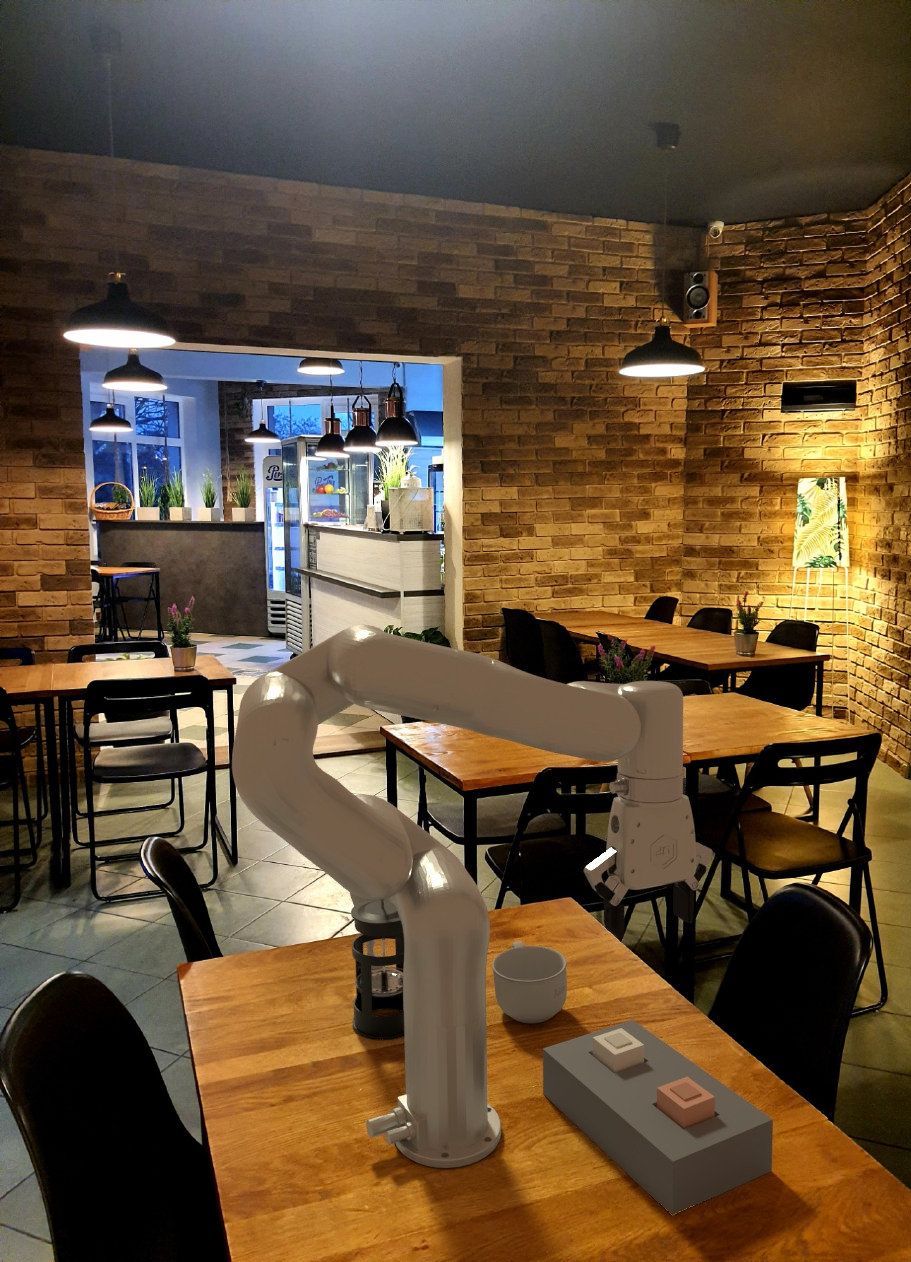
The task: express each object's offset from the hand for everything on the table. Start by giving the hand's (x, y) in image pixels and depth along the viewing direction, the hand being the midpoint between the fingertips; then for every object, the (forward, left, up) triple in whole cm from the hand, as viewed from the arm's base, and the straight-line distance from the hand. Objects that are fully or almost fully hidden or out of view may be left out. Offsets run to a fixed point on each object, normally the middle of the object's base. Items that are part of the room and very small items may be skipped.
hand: (649, 925), depth 112 cm
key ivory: (-3, +2, -18) cm, 18 cm away
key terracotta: (-3, -10, -18) cm, 21 cm away
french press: (-20, +33, -23) cm, 45 cm away
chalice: (-16, +49, -23) cm, 56 cm away
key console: (-3, -4, -23) cm, 23 cm away
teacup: (0, +27, -23) cm, 35 cm away
